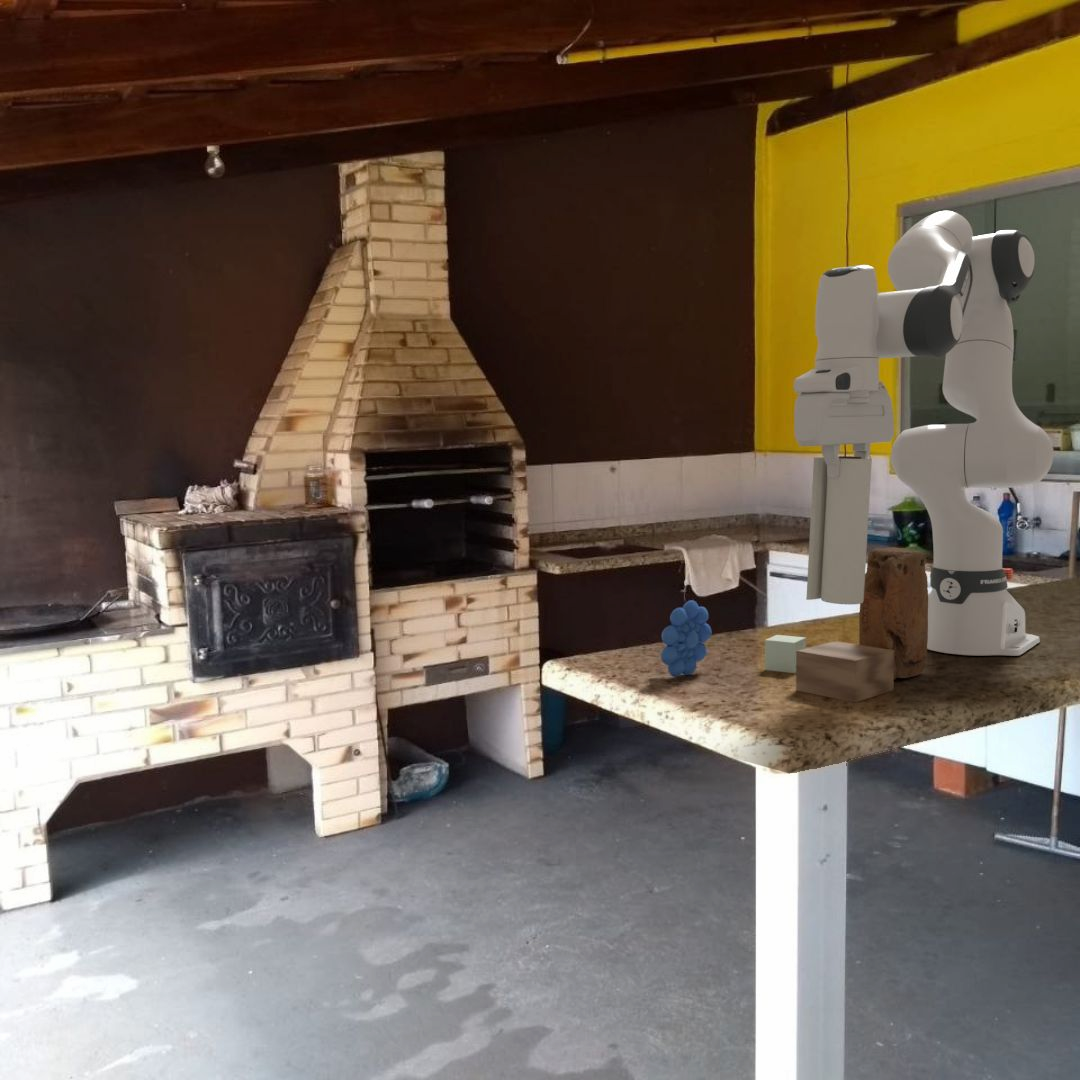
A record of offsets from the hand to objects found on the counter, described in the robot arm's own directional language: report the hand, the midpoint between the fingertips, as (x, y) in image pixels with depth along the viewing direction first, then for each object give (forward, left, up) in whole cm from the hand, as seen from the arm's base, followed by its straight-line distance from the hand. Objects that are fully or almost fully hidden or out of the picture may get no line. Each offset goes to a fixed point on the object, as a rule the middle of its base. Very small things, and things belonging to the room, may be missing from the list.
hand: (846, 476), depth 153 cm
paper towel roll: (+1, -1, -19) cm, 19 cm away
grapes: (+9, -24, -32) cm, 41 cm away
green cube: (-6, -15, -32) cm, 36 cm away
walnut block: (0, 0, -32) cm, 32 cm away
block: (-13, 0, -32) cm, 35 cm away
